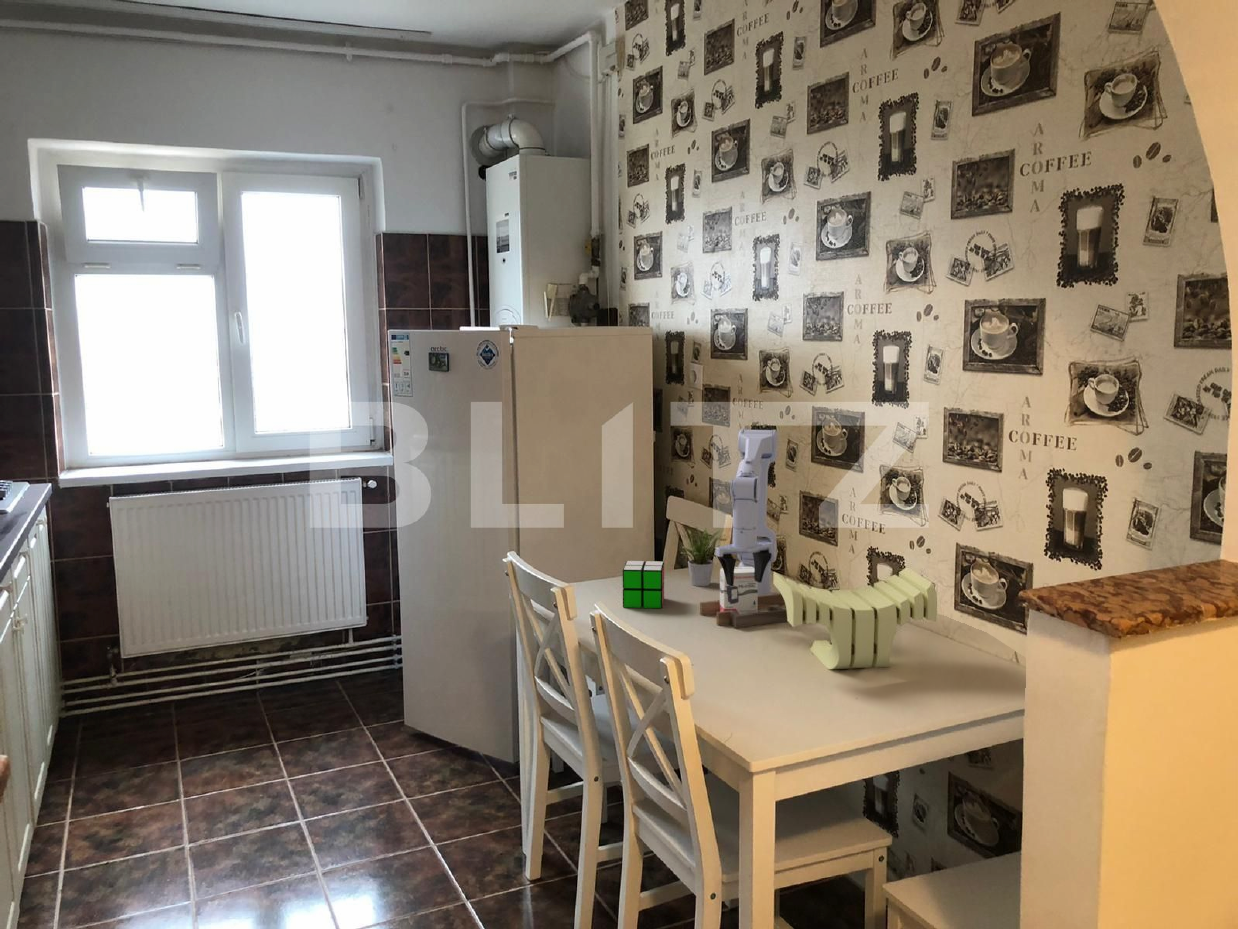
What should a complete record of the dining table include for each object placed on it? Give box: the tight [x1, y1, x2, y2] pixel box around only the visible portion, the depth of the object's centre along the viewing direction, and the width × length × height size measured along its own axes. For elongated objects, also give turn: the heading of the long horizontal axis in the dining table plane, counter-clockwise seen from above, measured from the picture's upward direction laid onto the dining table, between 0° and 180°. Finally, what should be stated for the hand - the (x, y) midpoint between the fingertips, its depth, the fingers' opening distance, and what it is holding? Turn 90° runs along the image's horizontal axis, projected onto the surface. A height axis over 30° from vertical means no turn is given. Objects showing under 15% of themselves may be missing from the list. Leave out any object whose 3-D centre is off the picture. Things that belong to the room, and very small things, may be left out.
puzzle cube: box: [622, 560, 665, 610], centre depth 253 cm, size 10×10×10 cm
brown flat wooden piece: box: [699, 592, 789, 630], centre depth 242 cm, size 14×31×3 cm, turn 111°
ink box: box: [719, 566, 759, 615], centre depth 241 cm, size 8×5×12 cm, turn 98°
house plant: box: [677, 526, 727, 587], centre depth 271 cm, size 14×14×16 cm
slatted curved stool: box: [773, 567, 938, 670], centre depth 208 cm, size 30×16×18 cm, turn 96°
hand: (744, 583), depth 235 cm, fingers open, 7 cm apart
